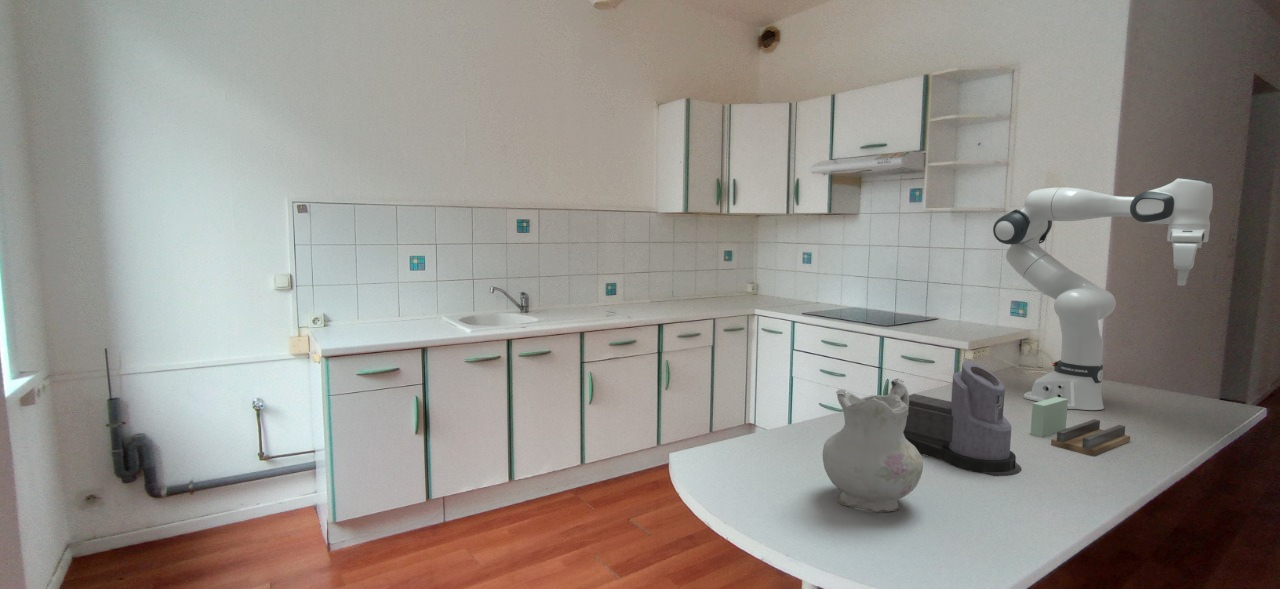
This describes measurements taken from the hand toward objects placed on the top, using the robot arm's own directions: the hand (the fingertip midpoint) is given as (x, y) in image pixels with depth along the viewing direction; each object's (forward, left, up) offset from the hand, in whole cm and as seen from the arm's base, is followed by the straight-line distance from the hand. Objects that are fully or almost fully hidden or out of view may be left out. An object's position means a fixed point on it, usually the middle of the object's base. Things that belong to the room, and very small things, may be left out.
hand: (1182, 284), depth 178 cm
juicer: (-21, -74, -43) cm, 88 cm away
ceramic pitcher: (-15, -115, -43) cm, 124 cm away
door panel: (-18, -32, -43) cm, 56 cm away
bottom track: (-7, -33, -42) cm, 54 cm away
